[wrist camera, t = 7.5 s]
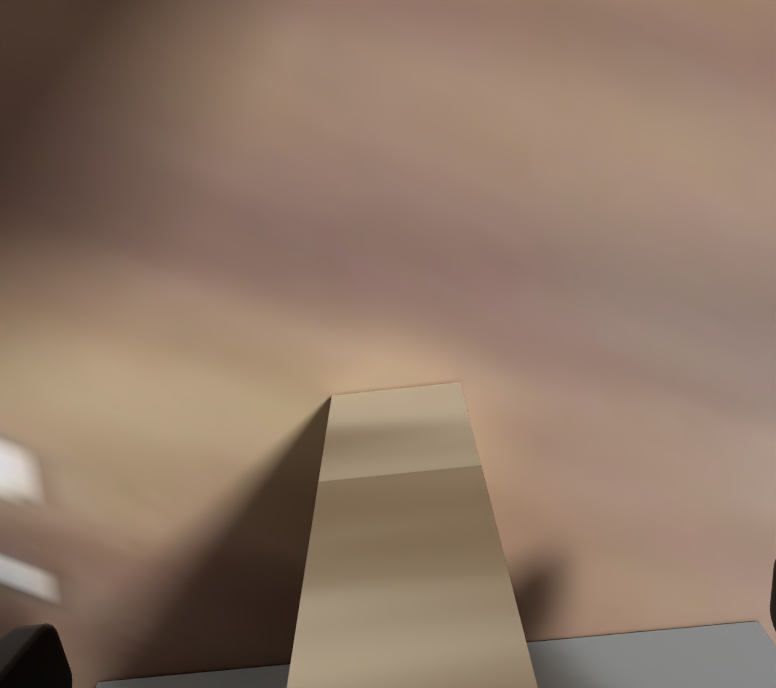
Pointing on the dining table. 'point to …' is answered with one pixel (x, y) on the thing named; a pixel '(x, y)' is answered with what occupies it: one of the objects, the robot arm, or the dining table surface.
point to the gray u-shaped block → (584, 662)
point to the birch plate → (405, 554)
